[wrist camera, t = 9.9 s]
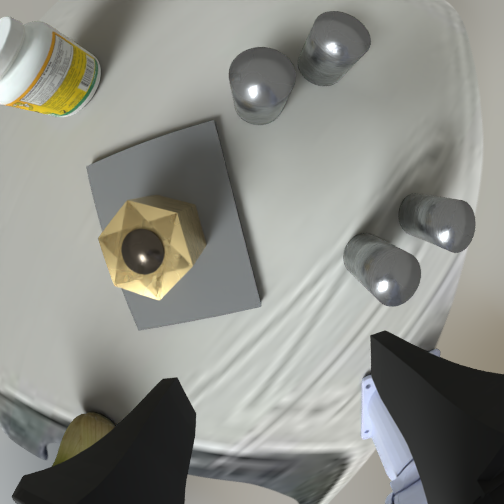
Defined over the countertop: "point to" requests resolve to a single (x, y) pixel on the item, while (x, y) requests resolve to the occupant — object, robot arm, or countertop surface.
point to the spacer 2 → (333, 47)
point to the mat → (210, 215)
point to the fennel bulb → (82, 435)
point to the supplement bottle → (44, 69)
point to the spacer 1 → (261, 84)
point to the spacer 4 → (438, 220)
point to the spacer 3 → (382, 268)
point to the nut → (152, 244)
